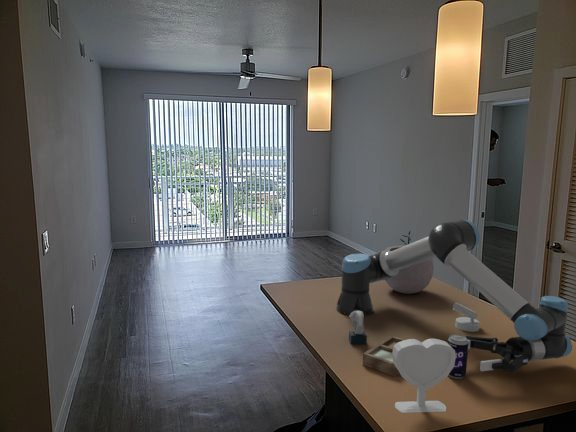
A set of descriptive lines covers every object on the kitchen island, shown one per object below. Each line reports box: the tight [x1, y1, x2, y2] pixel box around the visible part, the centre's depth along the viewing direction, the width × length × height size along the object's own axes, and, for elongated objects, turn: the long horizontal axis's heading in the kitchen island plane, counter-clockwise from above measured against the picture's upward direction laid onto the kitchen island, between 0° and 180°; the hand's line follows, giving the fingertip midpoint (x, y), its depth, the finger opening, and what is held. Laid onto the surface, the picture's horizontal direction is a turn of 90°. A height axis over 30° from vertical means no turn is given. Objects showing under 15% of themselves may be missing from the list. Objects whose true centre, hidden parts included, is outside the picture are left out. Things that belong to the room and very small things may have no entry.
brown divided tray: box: [362, 335, 406, 377], centre depth 142 cm, size 11×19×4 cm, turn 140°
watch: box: [348, 311, 368, 345], centre depth 155 cm, size 6×8×11 cm
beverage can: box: [447, 333, 469, 380], centre depth 132 cm, size 6×6×12 cm
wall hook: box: [452, 302, 481, 333], centre depth 170 cm, size 9×10×10 cm
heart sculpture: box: [392, 338, 456, 414], centre depth 114 cm, size 16×5×18 cm, turn 94°
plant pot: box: [384, 231, 434, 295], centre depth 212 cm, size 24×24×30 cm
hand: (465, 355), depth 131 cm, fingers open, 13 cm apart
